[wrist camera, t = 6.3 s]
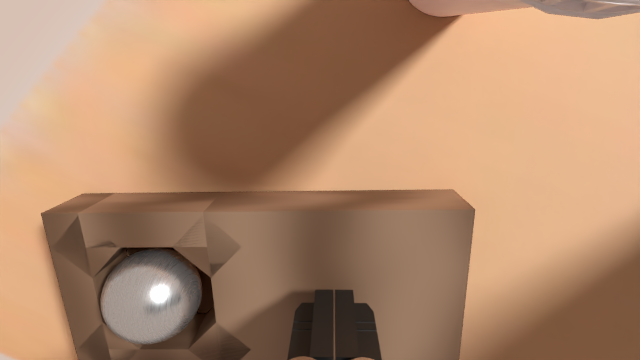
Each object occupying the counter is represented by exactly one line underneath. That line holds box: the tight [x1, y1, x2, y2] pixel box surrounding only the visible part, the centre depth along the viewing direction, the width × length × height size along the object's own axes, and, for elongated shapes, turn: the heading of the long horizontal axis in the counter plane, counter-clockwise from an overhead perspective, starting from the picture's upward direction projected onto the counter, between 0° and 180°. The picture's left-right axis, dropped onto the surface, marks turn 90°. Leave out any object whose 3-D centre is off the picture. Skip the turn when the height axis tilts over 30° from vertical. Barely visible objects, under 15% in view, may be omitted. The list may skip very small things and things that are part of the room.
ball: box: [100, 248, 202, 344], centre depth 16 cm, size 4×4×4 cm
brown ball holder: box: [41, 190, 475, 360], centre depth 16 cm, size 17×8×2 cm, turn 91°
